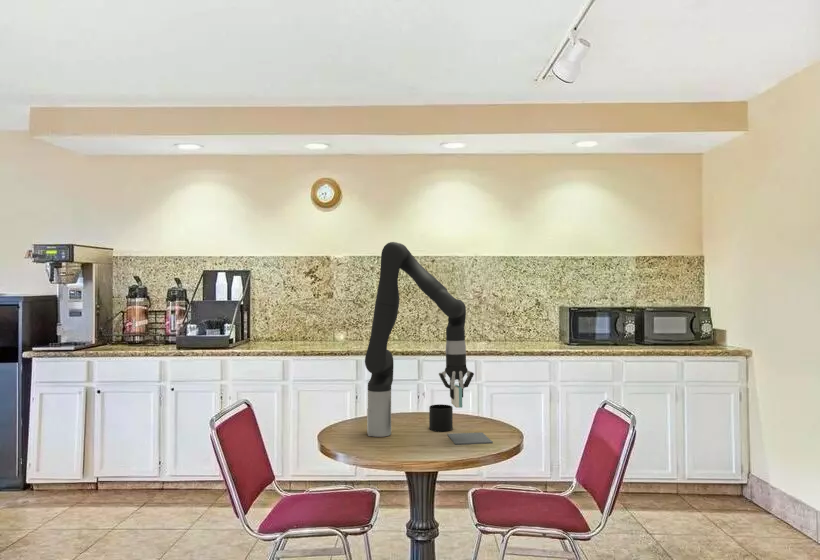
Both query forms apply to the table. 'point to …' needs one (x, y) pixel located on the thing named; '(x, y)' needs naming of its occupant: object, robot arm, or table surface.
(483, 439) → the mat
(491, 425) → the table surface
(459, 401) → the block
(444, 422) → the mug
